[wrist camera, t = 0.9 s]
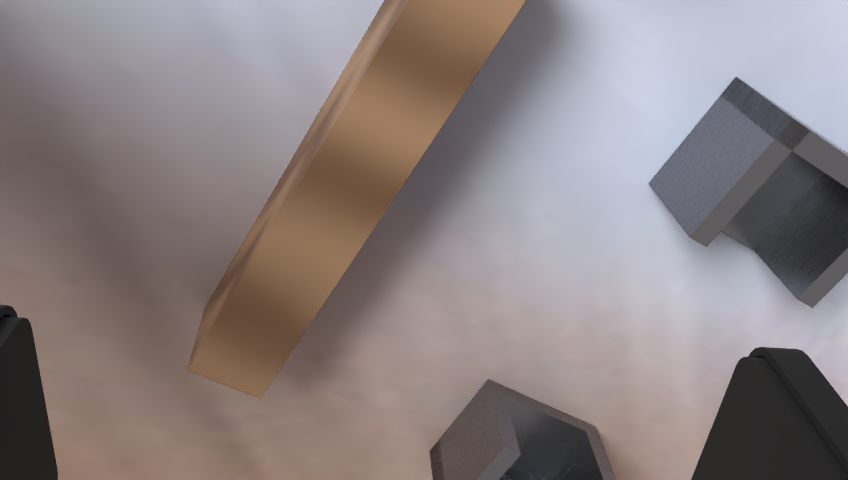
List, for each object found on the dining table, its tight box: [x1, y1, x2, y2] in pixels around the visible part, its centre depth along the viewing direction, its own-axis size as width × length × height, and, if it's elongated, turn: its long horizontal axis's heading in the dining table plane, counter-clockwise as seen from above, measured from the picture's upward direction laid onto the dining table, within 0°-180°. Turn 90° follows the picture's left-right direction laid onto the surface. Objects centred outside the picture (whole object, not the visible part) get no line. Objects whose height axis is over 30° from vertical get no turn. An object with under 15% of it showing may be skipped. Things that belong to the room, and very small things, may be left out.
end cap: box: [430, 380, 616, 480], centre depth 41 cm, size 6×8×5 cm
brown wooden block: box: [187, 0, 526, 399], centre depth 32 cm, size 22×4×5 cm, turn 148°
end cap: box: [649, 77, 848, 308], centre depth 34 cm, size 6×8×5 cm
